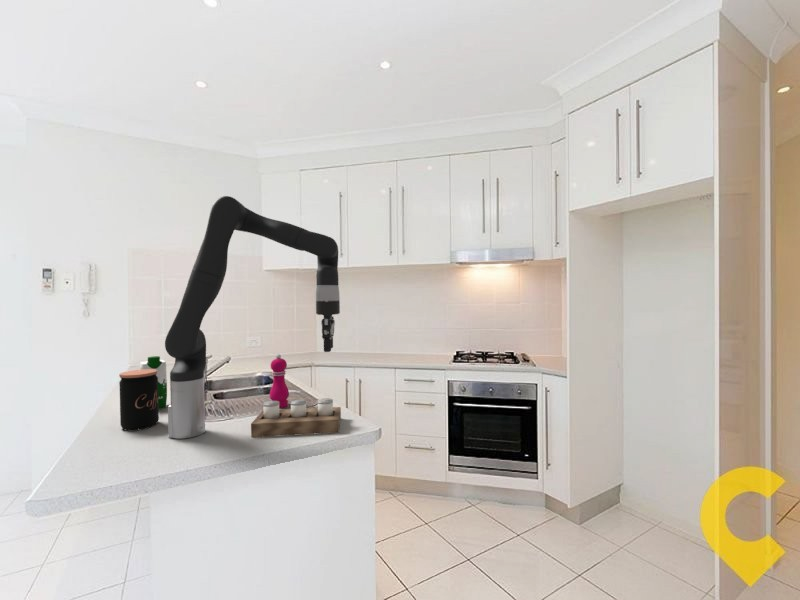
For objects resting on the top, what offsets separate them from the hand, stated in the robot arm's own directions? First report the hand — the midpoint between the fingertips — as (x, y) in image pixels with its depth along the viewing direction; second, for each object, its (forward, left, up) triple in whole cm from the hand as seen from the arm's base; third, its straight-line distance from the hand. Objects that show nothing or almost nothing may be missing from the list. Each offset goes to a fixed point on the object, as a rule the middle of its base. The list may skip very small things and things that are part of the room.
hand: (328, 349), depth 127 cm
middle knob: (-10, +1, -21) cm, 24 cm away
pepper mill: (-21, +28, -25) cm, 43 cm away
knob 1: (-18, 0, -21) cm, 28 cm away
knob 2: (-1, 0, -21) cm, 21 cm away
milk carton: (-70, +34, -25) cm, 82 cm away
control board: (-10, +1, -25) cm, 27 cm away
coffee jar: (-63, +11, -25) cm, 69 cm away
